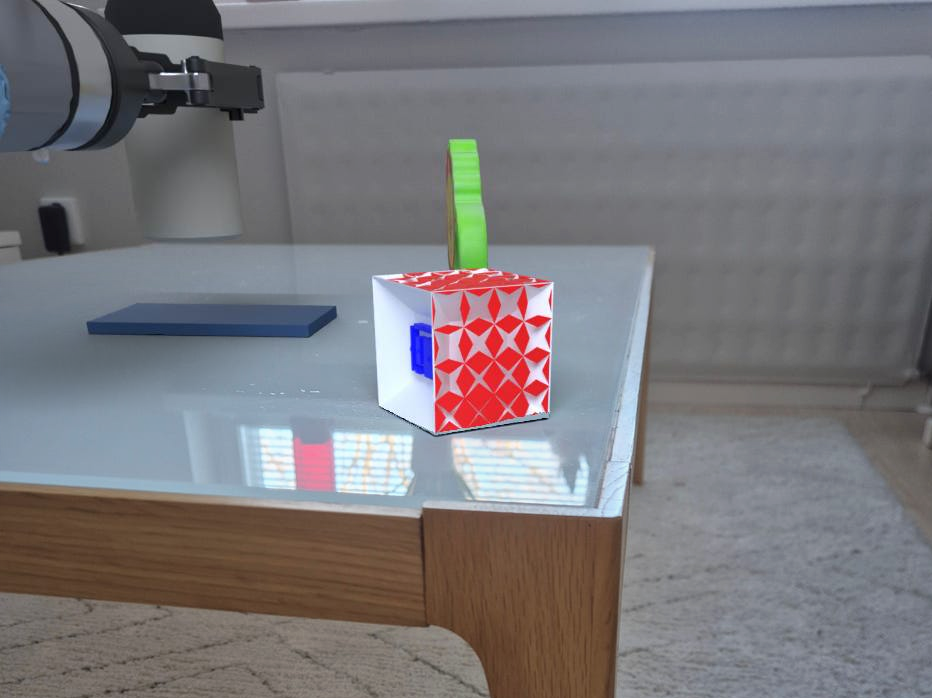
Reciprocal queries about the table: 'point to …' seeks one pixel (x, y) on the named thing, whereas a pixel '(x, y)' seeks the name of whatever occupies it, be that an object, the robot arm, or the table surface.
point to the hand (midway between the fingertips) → (196, 93)
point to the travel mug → (180, 131)
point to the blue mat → (215, 320)
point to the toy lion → (464, 207)
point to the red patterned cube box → (462, 346)
